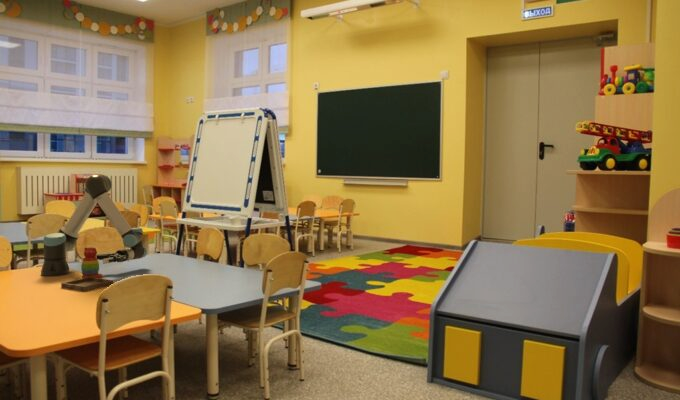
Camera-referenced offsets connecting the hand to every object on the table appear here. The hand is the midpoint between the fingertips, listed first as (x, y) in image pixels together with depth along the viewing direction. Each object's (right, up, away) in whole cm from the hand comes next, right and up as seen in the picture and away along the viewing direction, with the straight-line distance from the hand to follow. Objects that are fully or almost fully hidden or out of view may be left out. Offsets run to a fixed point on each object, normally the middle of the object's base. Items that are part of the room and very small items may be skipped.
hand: (95, 260), depth 318 cm
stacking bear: (-2, -10, -1) cm, 10 cm away
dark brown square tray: (+6, -12, -22) cm, 25 cm away
